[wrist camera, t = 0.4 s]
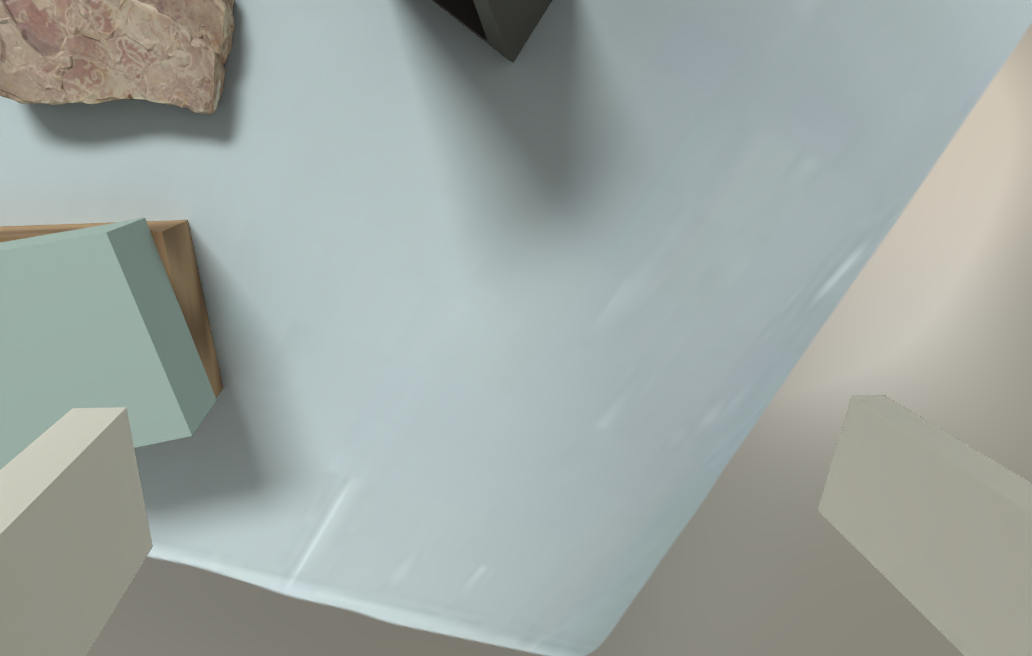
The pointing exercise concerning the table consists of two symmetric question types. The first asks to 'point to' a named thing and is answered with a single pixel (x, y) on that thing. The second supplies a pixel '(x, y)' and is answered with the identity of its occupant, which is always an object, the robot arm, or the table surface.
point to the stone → (115, 51)
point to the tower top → (94, 337)
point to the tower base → (180, 271)
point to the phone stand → (498, 21)
